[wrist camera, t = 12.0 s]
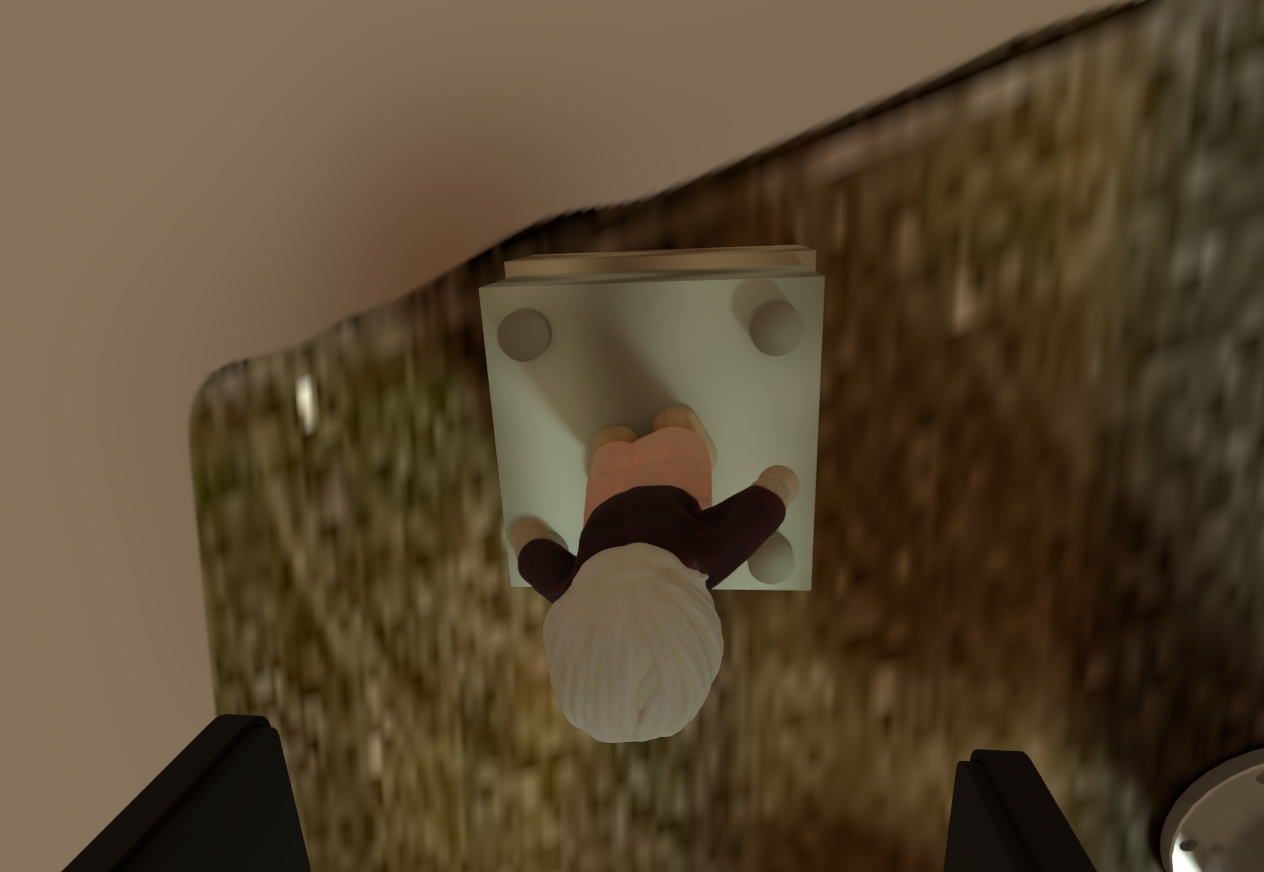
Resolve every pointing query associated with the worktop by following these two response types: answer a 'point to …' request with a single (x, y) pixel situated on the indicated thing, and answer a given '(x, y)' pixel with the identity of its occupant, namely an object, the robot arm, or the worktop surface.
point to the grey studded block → (658, 378)
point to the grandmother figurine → (645, 577)
